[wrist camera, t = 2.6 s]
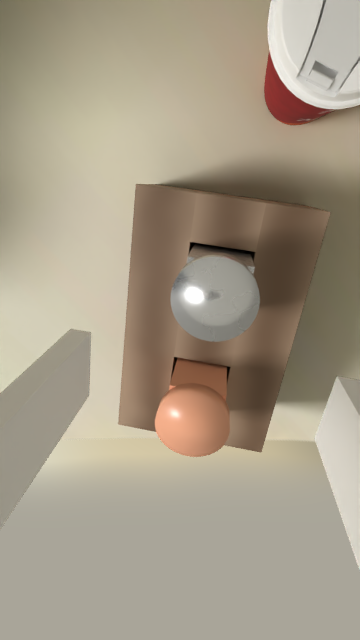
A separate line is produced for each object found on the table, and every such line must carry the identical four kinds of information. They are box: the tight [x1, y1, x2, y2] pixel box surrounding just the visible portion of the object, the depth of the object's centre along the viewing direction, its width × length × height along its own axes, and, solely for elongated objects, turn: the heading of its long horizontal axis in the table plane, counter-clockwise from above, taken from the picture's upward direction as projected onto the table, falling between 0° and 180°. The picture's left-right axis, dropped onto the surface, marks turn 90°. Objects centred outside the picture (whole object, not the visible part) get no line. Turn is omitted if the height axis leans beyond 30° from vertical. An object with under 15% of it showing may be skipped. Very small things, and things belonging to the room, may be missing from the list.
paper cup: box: [264, 0, 360, 125], centre depth 21 cm, size 8×8×14 cm
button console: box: [118, 184, 331, 452], centre depth 32 cm, size 14×22×8 cm, turn 173°
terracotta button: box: [155, 357, 230, 457], centre depth 29 cm, size 6×6×8 cm
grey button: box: [170, 243, 260, 342], centre depth 25 cm, size 6×6×8 cm
